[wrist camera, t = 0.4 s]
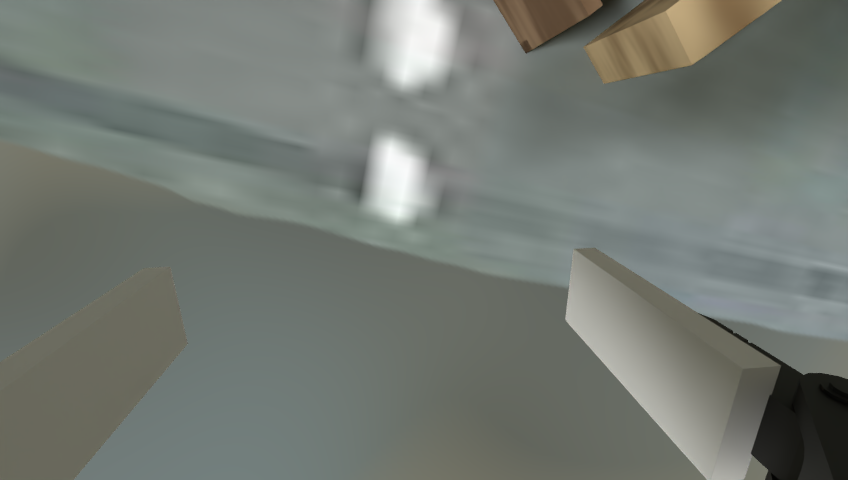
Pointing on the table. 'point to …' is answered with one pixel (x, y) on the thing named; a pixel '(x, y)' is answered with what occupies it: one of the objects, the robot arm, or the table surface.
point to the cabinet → (543, 18)
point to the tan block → (669, 35)
